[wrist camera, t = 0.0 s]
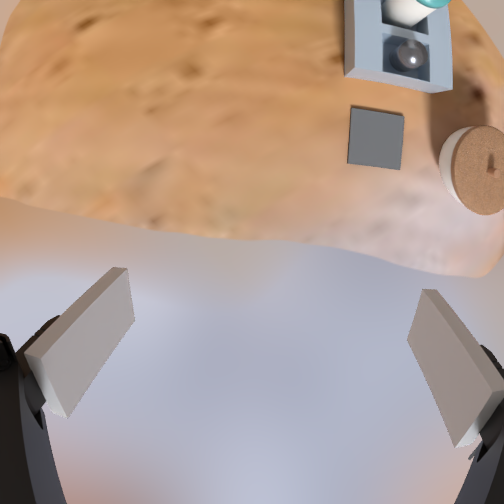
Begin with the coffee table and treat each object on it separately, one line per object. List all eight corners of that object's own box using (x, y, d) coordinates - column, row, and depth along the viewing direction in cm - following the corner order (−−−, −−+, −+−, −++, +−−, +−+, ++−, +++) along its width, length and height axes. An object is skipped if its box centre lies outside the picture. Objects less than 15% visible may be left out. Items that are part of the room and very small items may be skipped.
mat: (351, 108, 35) (351, 107, 34) (403, 116, 34) (404, 116, 34) (347, 163, 37) (348, 163, 37) (399, 169, 37) (400, 170, 36)
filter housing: (344, 76, 33) (354, 67, 28) (342, -38, 27) (349, -58, 21) (431, 93, 32) (452, 89, 27) (424, -18, 26) (441, -34, 20)
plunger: (388, 46, 28) (401, 36, 24) (412, 51, 28) (427, 43, 23) (388, 69, 29) (402, 61, 25) (412, 74, 29) (428, 68, 25)
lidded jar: (488, 131, 33) (528, 135, 24) (483, 203, 37) (520, 222, 28) (427, 118, 34) (463, 118, 25) (423, 198, 38) (456, 216, 29)
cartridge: (375, -3, 27) (404, -41, 16) (411, 6, 26) (448, -26, 16) (377, 29, 28) (409, -3, 18) (413, 37, 28) (454, 11, 18)
